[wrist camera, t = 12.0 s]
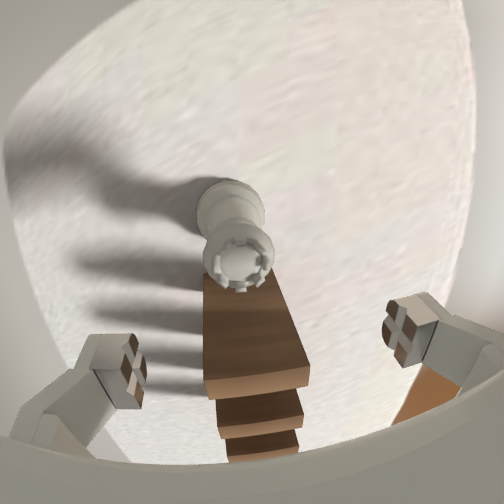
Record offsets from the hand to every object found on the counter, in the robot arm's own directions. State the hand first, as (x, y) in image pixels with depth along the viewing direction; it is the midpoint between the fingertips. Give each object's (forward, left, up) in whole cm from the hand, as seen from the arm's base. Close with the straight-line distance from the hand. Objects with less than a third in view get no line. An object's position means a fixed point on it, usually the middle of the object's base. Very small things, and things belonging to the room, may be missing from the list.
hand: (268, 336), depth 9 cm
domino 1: (-5, 0, -12) cm, 13 cm away
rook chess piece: (0, 0, -13) cm, 13 cm away
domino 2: (-10, 0, -12) cm, 16 cm away
